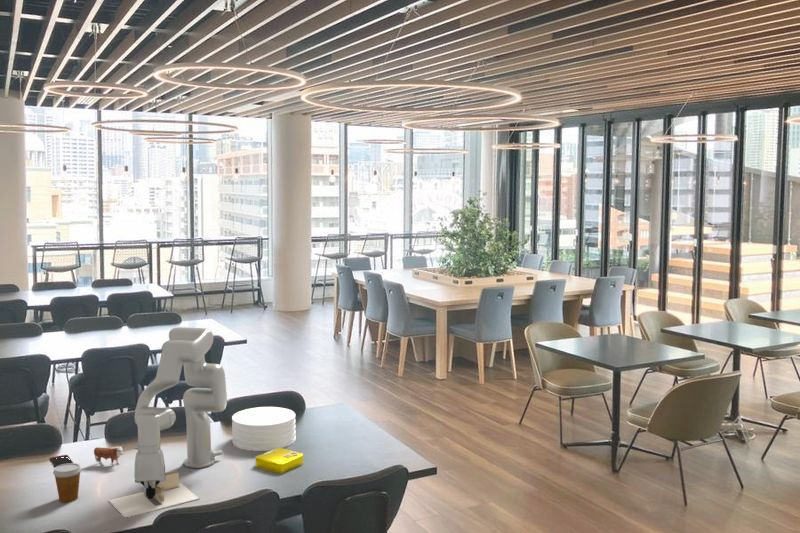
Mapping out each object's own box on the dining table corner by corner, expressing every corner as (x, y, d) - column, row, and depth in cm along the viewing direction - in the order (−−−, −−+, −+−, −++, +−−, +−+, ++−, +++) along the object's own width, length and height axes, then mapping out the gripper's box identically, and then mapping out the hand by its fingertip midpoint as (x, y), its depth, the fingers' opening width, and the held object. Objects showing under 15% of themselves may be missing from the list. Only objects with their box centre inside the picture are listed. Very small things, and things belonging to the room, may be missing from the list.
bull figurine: (122, 468, 320) (121, 448, 319) (92, 465, 323) (91, 446, 322) (128, 464, 324) (127, 445, 323) (98, 461, 327) (97, 442, 326)
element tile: (278, 456, 335) (278, 445, 334) (305, 463, 326) (305, 452, 326) (253, 467, 322) (253, 456, 322) (280, 475, 314) (280, 463, 313)
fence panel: (146, 493, 291) (145, 479, 291) (149, 492, 292) (149, 478, 292) (161, 502, 284) (160, 487, 283) (164, 501, 284) (163, 486, 284)
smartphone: (67, 454, 334) (75, 464, 322) (67, 456, 334) (75, 466, 322) (49, 457, 330) (56, 468, 318) (49, 459, 331) (56, 470, 318)
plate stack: (264, 426, 374) (264, 403, 373) (308, 438, 358) (308, 413, 356) (219, 442, 351) (218, 417, 350) (264, 455, 335) (263, 429, 334)
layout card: (180, 484, 303) (179, 466, 302) (199, 499, 289) (198, 481, 288) (108, 501, 287) (107, 483, 286) (124, 518, 273) (124, 499, 272)
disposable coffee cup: (59, 494, 293) (58, 463, 292) (86, 493, 294) (84, 462, 293) (50, 504, 284) (49, 472, 283) (77, 503, 285) (76, 471, 283)
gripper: (125, 452, 277) (127, 502, 279) (169, 450, 279) (170, 500, 281) (130, 445, 284) (131, 494, 286) (172, 443, 286) (174, 492, 288)
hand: (150, 497), depth 283 cm, fingers closed
